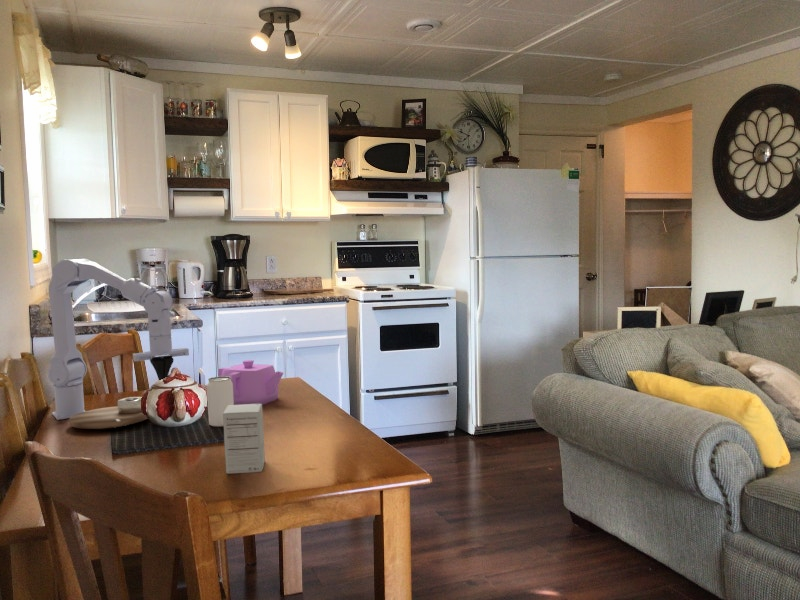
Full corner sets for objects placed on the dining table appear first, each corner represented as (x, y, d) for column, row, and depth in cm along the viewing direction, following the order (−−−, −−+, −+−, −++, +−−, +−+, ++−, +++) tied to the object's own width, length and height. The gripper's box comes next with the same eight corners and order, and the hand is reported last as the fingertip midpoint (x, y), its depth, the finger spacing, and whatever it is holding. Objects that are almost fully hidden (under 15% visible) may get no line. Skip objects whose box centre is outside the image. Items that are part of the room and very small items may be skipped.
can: (228, 427, 180) (225, 380, 179) (204, 426, 182) (202, 380, 181) (238, 421, 187) (236, 376, 186) (215, 420, 188) (213, 375, 187)
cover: (115, 411, 192) (114, 398, 192) (142, 407, 196) (141, 394, 195) (121, 415, 186) (120, 403, 186) (149, 411, 190) (148, 399, 190)
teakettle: (216, 399, 215) (214, 359, 214) (271, 393, 222) (270, 354, 221) (226, 410, 200) (224, 367, 199) (285, 403, 206) (283, 361, 205)
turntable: (63, 417, 191) (63, 413, 190) (140, 406, 202) (140, 402, 202) (77, 433, 174) (76, 428, 174) (159, 419, 185) (159, 415, 185)
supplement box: (230, 463, 150) (227, 404, 149) (265, 461, 151) (263, 402, 150) (224, 474, 143) (221, 412, 142) (262, 472, 144) (259, 410, 143)
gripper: (136, 339, 187) (139, 390, 188) (191, 333, 195) (193, 382, 196) (129, 336, 193) (133, 386, 194) (183, 331, 201) (185, 379, 202)
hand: (163, 384), depth 195 cm, fingers closed
